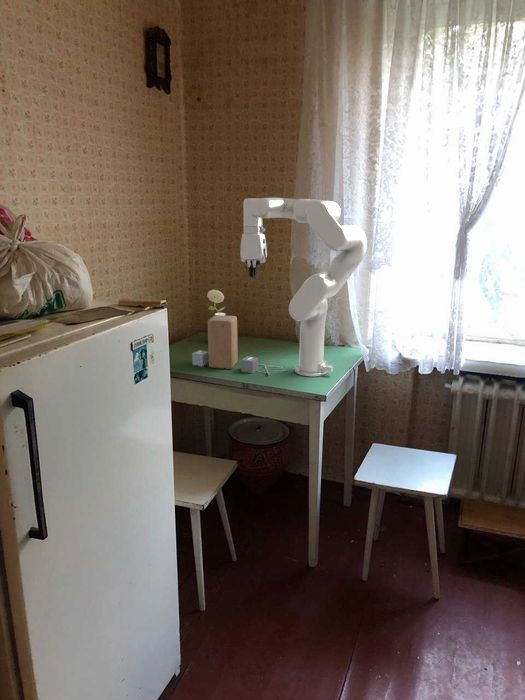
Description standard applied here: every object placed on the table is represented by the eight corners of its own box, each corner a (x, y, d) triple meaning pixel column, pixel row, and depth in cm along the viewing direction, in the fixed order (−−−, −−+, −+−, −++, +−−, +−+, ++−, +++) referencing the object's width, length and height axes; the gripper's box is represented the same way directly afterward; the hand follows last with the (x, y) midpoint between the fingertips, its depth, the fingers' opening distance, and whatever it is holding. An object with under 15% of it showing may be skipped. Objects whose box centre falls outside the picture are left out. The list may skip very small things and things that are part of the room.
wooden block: (232, 369, 209) (231, 321, 203) (208, 368, 211) (206, 319, 205) (238, 362, 218) (237, 315, 212) (215, 360, 220) (214, 314, 214)
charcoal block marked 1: (258, 370, 209) (258, 357, 207) (252, 373, 205) (252, 361, 203) (247, 368, 211) (247, 355, 210) (241, 371, 207) (241, 359, 205)
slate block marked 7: (209, 363, 217) (209, 351, 215) (202, 366, 213) (202, 354, 211) (199, 361, 219) (198, 349, 217) (192, 365, 215) (192, 352, 213)
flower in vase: (237, 341, 249) (236, 289, 242) (223, 347, 240) (222, 293, 233) (215, 337, 256) (214, 286, 249) (201, 342, 246) (199, 290, 239)
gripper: (274, 230, 207) (273, 276, 212) (241, 229, 214) (241, 274, 219) (265, 231, 201) (265, 279, 206) (232, 230, 207) (232, 276, 212)
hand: (253, 276), depth 212 cm, fingers closed
